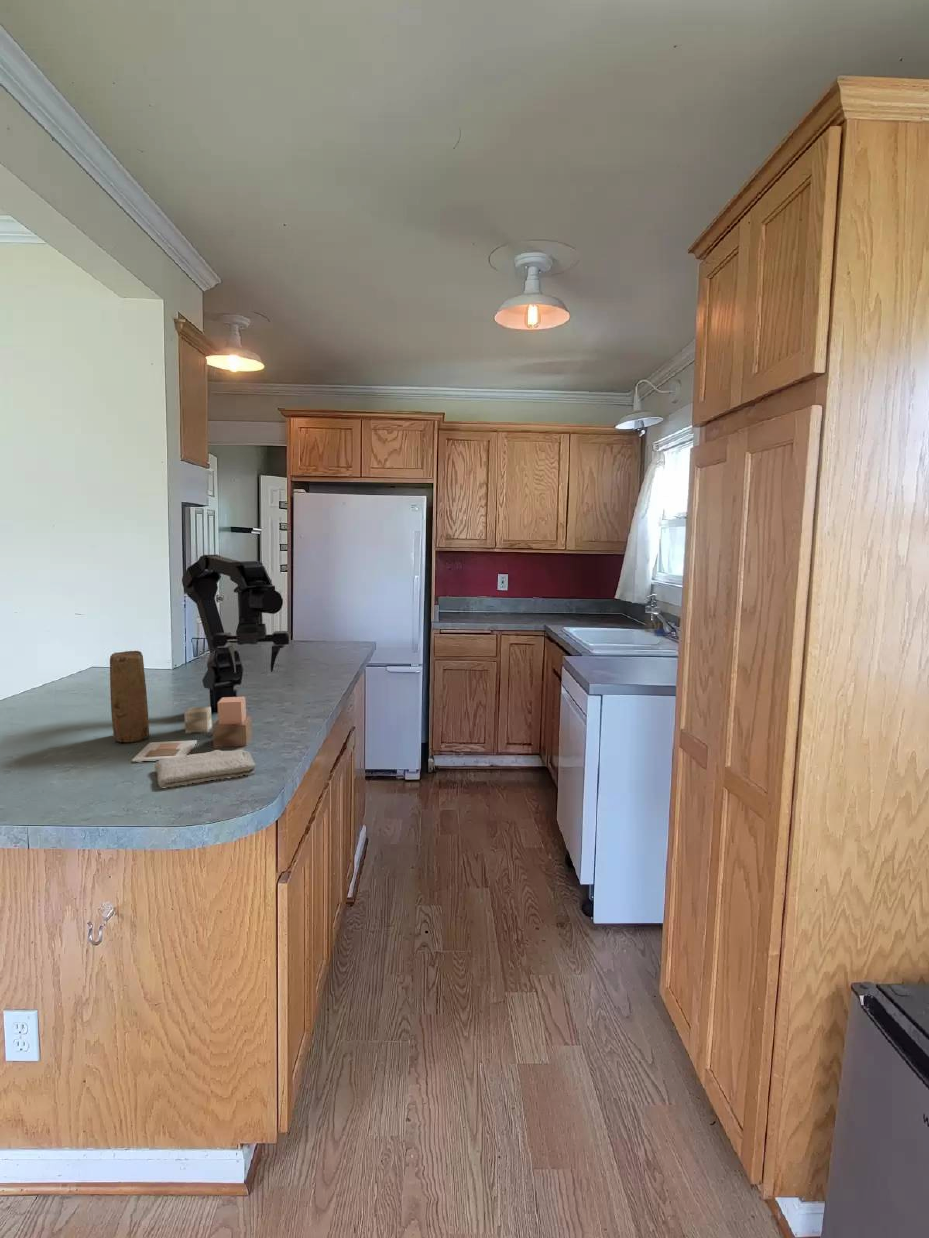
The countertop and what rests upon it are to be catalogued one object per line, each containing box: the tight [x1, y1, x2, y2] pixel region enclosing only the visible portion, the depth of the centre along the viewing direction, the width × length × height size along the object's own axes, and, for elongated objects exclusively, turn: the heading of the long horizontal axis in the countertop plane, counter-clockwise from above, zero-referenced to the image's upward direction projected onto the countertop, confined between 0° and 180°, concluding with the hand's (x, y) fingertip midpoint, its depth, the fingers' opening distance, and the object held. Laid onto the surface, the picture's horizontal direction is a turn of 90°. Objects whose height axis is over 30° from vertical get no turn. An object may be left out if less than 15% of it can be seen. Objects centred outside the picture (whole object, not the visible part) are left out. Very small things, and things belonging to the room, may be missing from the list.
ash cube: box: [183, 706, 213, 734], centre depth 161 cm, size 5×5×5 cm
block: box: [109, 650, 150, 743], centre depth 154 cm, size 11×8×20 cm
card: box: [131, 739, 198, 762], centre depth 144 cm, size 10×12×1 cm
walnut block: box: [212, 716, 253, 748], centre depth 151 cm, size 7×7×5 cm
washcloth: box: [154, 748, 258, 789], centre depth 131 cm, size 12×18×3 cm, turn 117°
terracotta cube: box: [217, 696, 247, 725], centre depth 150 cm, size 5×5×5 cm
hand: (253, 672), depth 169 cm, fingers open, 9 cm apart
